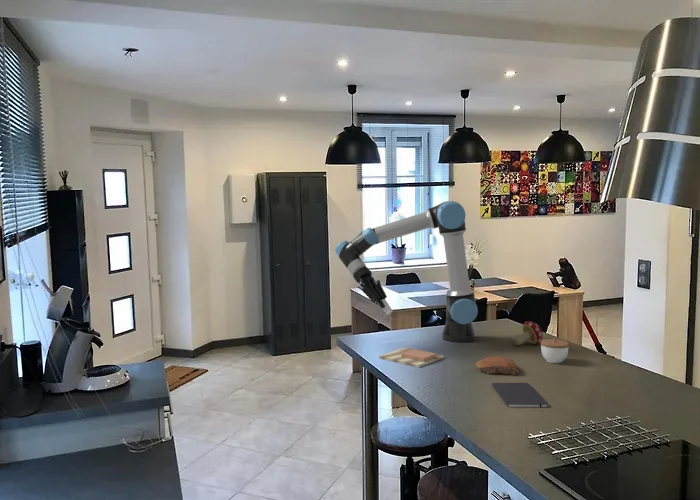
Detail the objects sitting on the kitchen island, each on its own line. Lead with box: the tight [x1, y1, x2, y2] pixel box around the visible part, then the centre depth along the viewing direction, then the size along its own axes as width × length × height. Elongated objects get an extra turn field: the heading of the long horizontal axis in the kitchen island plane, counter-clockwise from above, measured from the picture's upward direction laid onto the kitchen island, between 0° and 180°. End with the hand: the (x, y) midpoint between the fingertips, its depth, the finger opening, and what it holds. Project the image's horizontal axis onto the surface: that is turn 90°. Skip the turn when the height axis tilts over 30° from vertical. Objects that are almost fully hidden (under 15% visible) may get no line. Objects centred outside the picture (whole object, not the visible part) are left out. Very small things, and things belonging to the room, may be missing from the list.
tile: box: [401, 348, 437, 362], centre depth 240 cm, size 2×9×11 cm
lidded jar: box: [540, 337, 570, 364], centre depth 237 cm, size 11×11×9 cm
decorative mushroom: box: [511, 320, 544, 347], centre depth 264 cm, size 11×11×15 cm
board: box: [378, 347, 445, 368], centre depth 243 cm, size 20×18×1 cm
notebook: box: [491, 382, 548, 408], centre depth 197 cm, size 13×2×21 cm
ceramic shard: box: [475, 355, 520, 376], centre depth 226 cm, size 15×6×15 cm
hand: (390, 313), depth 249 cm, fingers closed
